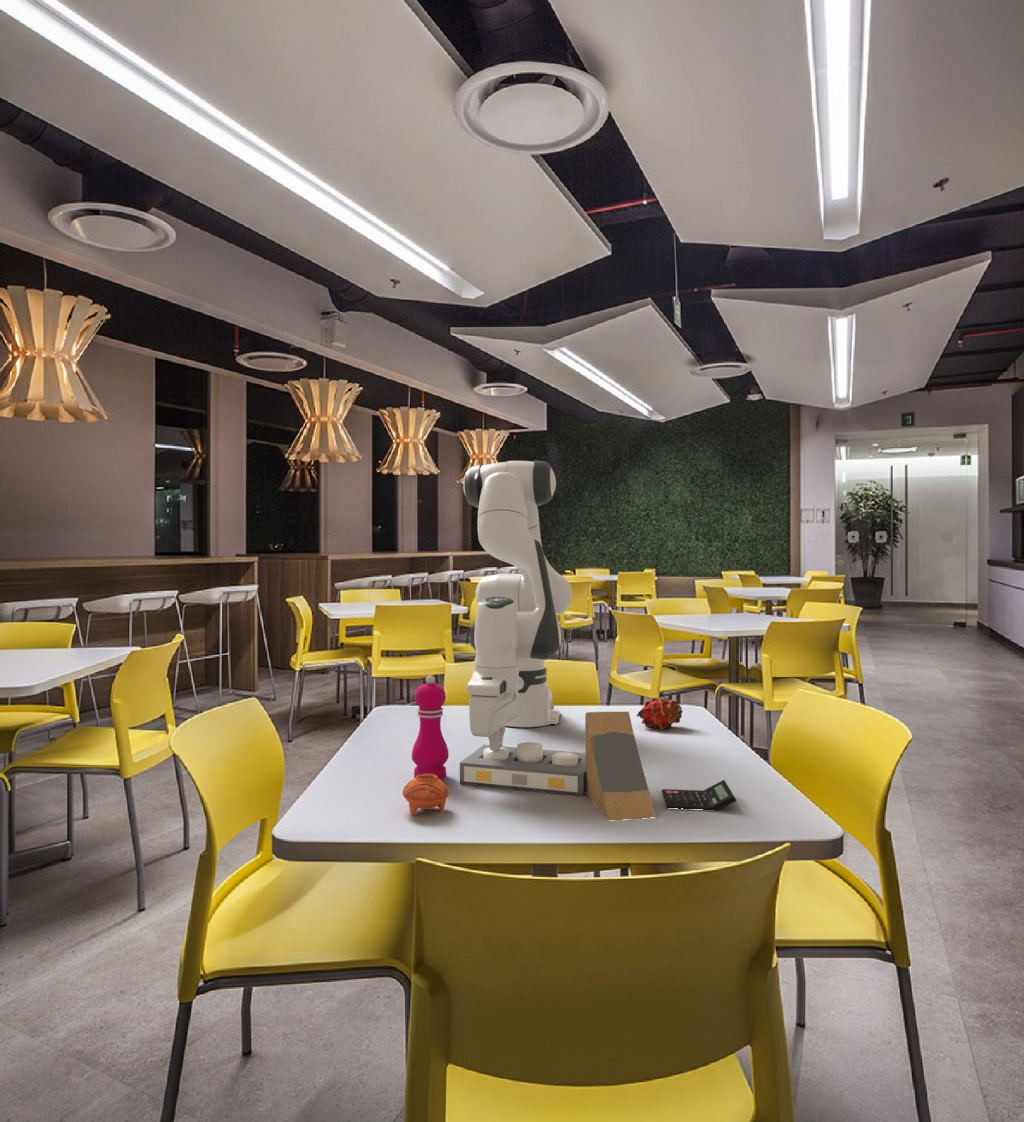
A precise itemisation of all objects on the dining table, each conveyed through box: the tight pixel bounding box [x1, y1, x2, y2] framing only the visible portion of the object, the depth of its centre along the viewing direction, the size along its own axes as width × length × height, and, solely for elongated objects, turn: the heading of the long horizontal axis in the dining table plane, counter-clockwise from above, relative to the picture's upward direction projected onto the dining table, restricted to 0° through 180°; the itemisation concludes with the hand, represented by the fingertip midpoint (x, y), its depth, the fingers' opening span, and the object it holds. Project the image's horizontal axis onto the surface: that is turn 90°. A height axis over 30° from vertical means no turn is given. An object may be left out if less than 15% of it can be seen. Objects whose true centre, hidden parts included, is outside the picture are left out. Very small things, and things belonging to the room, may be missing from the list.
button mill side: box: [483, 747, 509, 760], centre depth 145 cm, size 5×5×4 cm
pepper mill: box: [411, 675, 449, 781], centre depth 143 cm, size 7×7×20 cm
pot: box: [402, 774, 450, 817], centre depth 124 cm, size 8×8×7 cm
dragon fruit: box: [636, 696, 683, 731], centre depth 186 cm, size 8×8×12 cm
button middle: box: [516, 741, 544, 763], centre depth 143 cm, size 5×5×4 cm
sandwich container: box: [584, 711, 657, 822], centre depth 128 cm, size 9×15×15 cm, turn 9°
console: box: [459, 744, 586, 796], centre depth 142 cm, size 14×24×4 cm, turn 73°
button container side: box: [552, 753, 578, 766], centre depth 141 cm, size 5×5×4 cm
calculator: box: [661, 779, 737, 811], centre depth 130 cm, size 9×12×3 cm
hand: (496, 748), depth 145 cm, fingers closed
